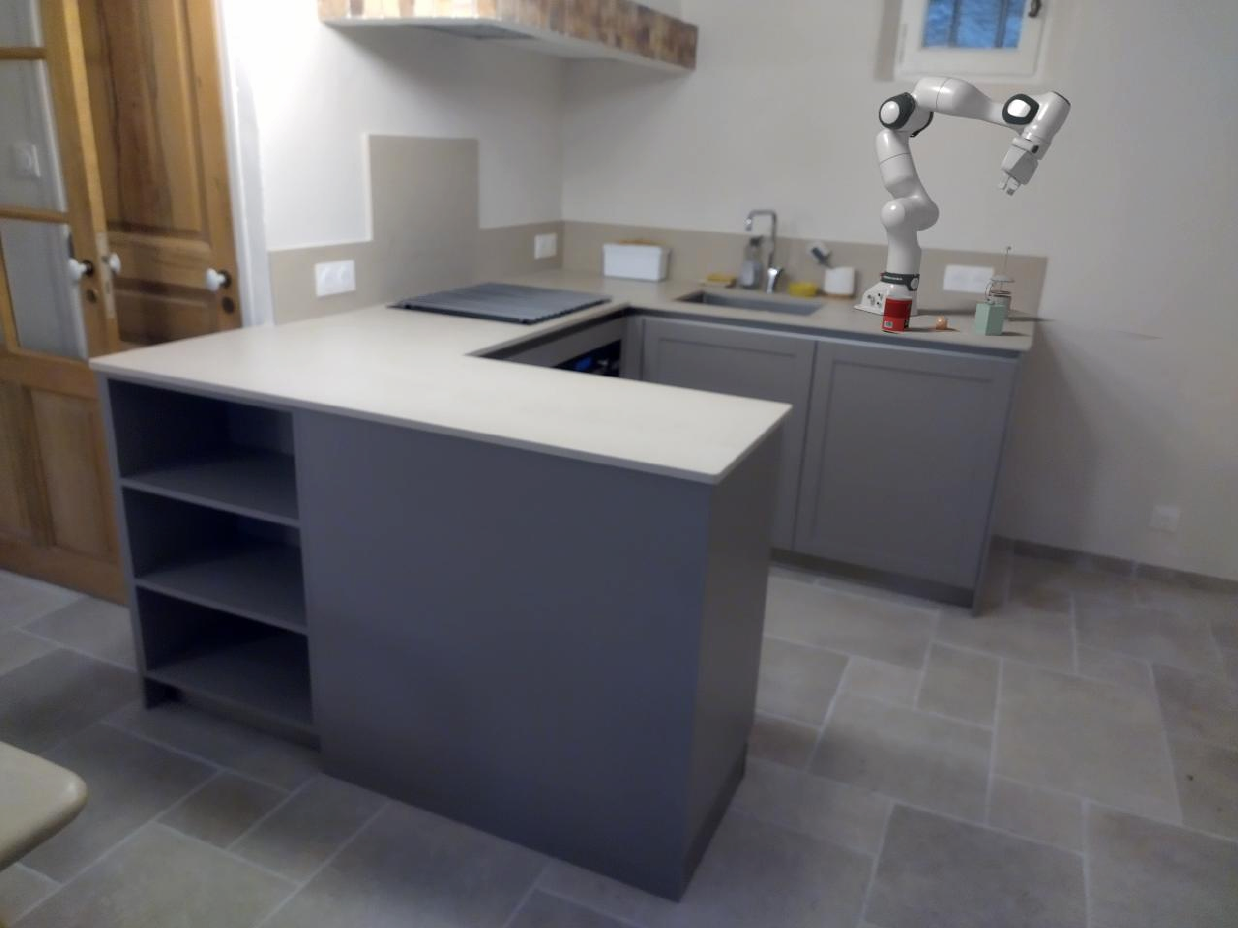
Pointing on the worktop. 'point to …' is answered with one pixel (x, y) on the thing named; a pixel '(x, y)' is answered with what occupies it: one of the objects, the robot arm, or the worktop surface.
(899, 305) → the canned food
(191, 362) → the worktop surface
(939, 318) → the ball
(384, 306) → the worktop surface
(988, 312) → the mint green square bottle
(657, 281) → the worktop surface
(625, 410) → the worktop surface
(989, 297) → the french press
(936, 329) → the trivet
